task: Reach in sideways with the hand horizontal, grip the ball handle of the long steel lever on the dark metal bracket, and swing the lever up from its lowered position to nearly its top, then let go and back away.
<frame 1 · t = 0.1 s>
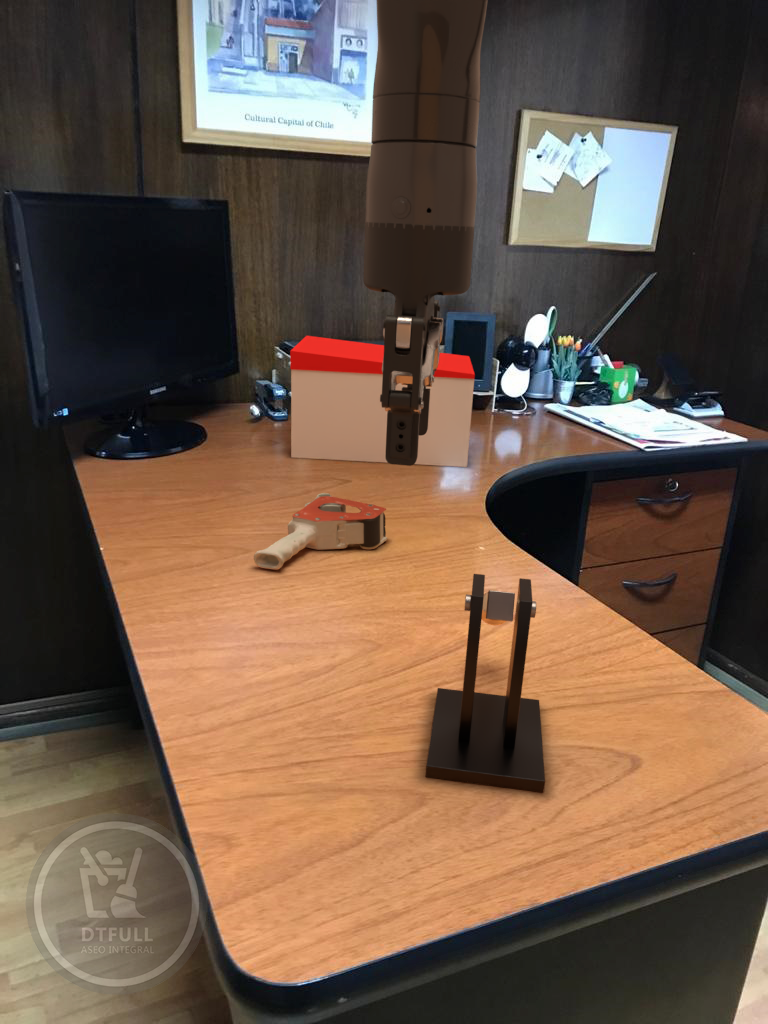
hand: (407, 447, 59), 28 cm above the table, tool pointing down, fingers open, 8 cm apart
bracket: (485, 741, 71), on the table
lever: (497, 607, 73), point 11 cm above the table, hinge at -28.0°
tape dispenser: (319, 546, 112), on the table
red-topped tan box: (380, 448, 161), on the table
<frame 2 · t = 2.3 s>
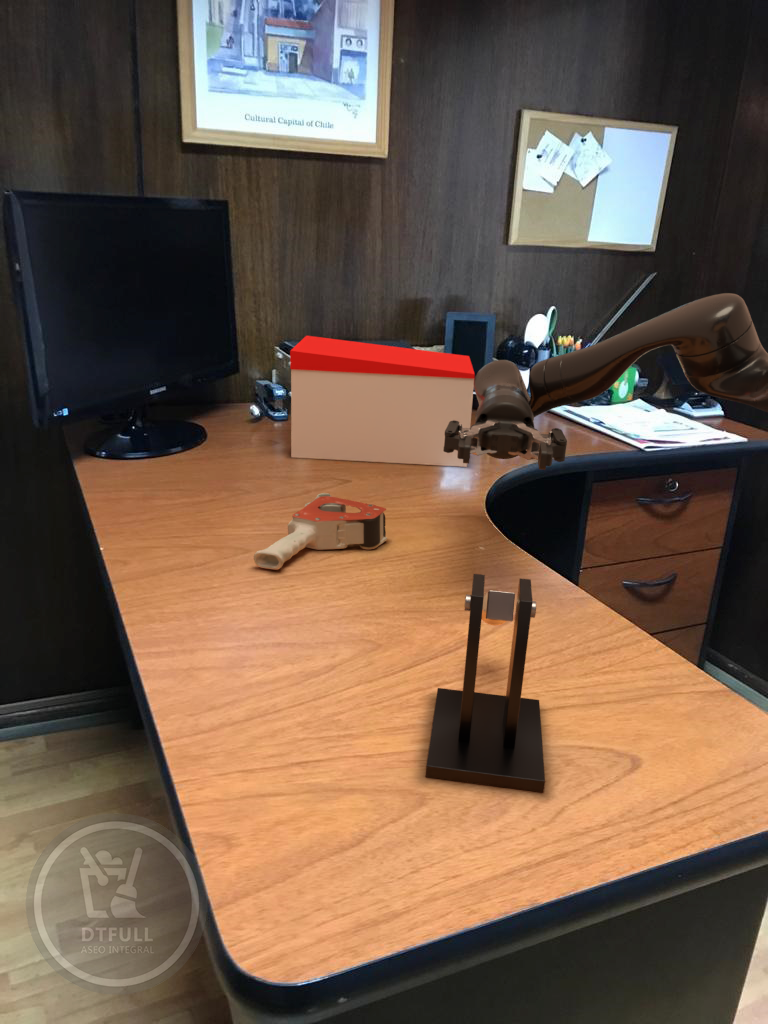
hand: (504, 458, 86), 20 cm above the table, tool horizontal, fingers open, 8 cm apart
nothing on the table moved.
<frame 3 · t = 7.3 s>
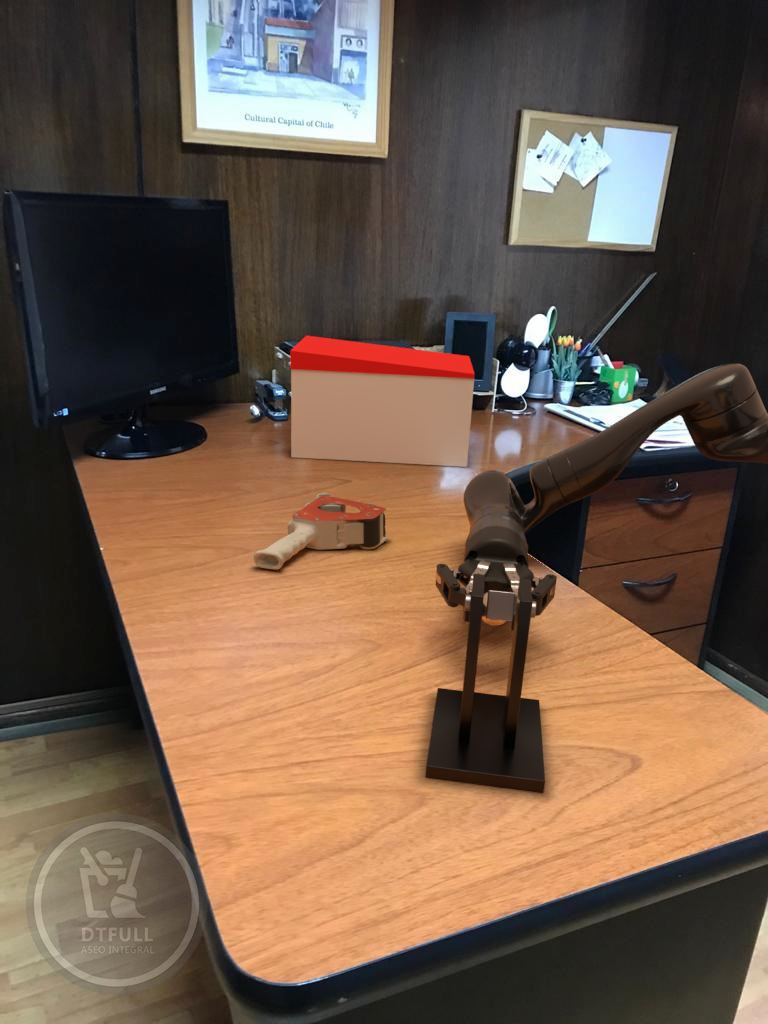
hand: (494, 620, 78), 7 cm above the table, tool horizontal, fingers closed on lever, 3 cm apart
lever: (497, 607, 73), point 11 cm above the table, hinge at -28.0°, touching gripper
everything else where it was.
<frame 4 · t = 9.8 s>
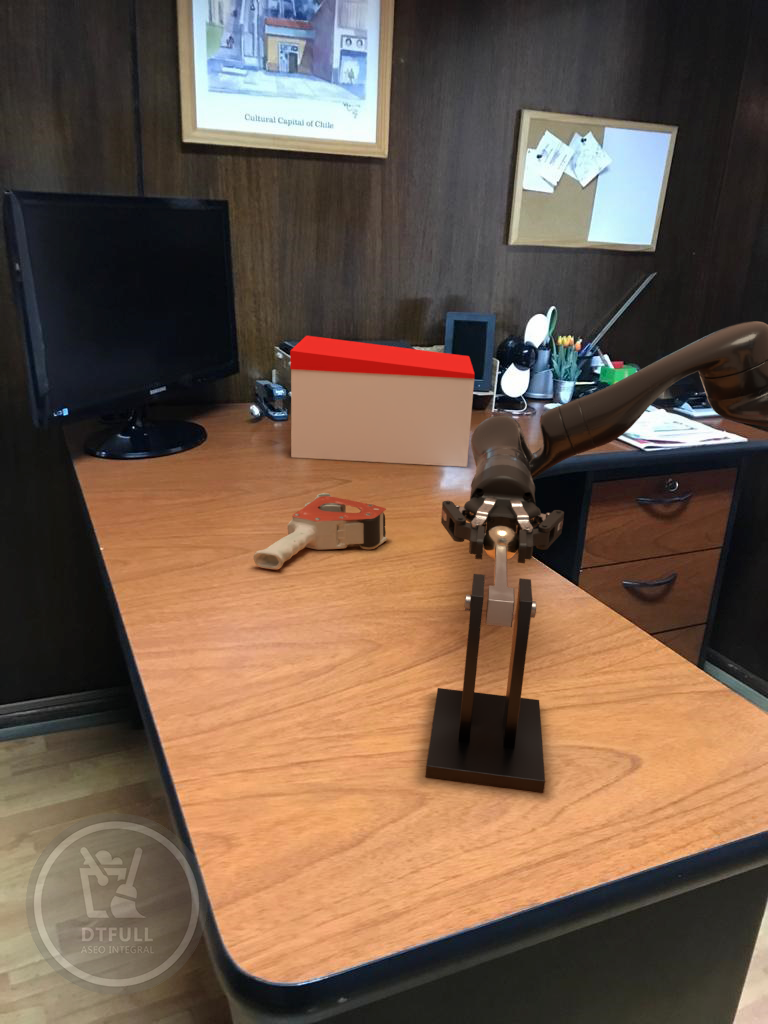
hand: (500, 552, 77), 14 cm above the table, tool horizontal, fingers closed on lever, 3 cm apart
lever: (500, 570, 73), point 14 cm above the table, hinge at 0.3°, touching gripper
everything else where it was.
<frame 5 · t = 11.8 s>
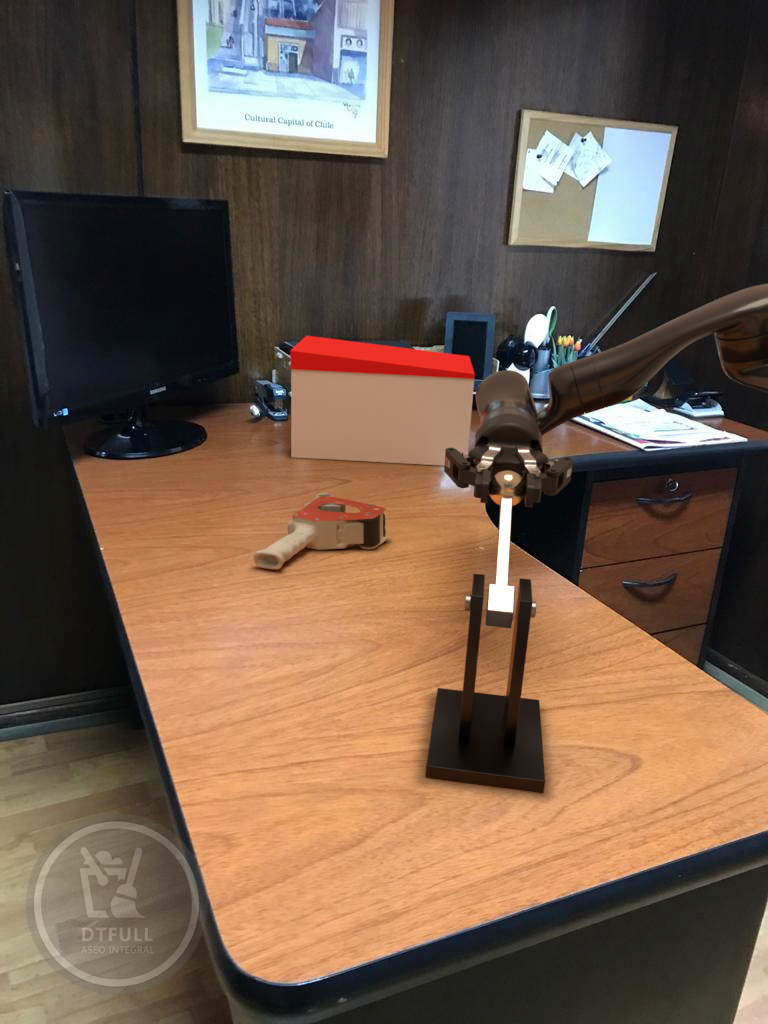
hand: (507, 495, 73), 21 cm above the table, tool horizontal, fingers closed on lever, 3 cm apart
lever: (503, 541, 71), point 17 cm above the table, hinge at 27.9°, touching gripper
everything else where it was.
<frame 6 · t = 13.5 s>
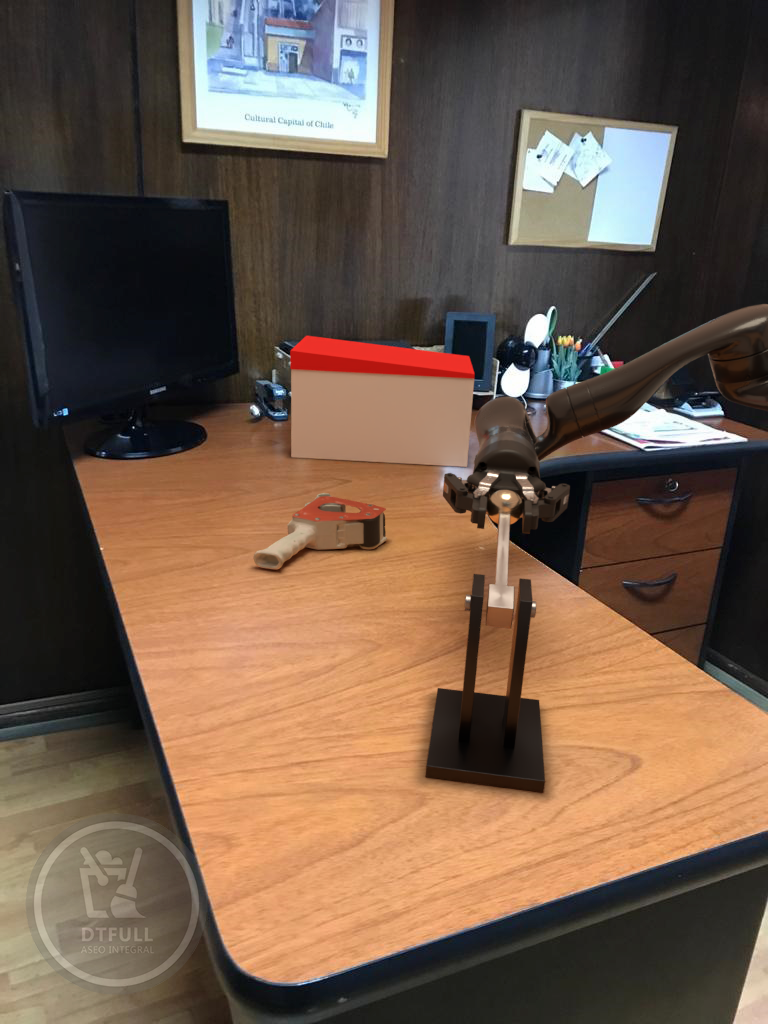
hand: (504, 521, 74), 18 cm above the table, tool horizontal, fingers open, 3 cm apart
lever: (502, 551, 72), point 16 cm above the table, hinge at 17.6°
everything else where it was.
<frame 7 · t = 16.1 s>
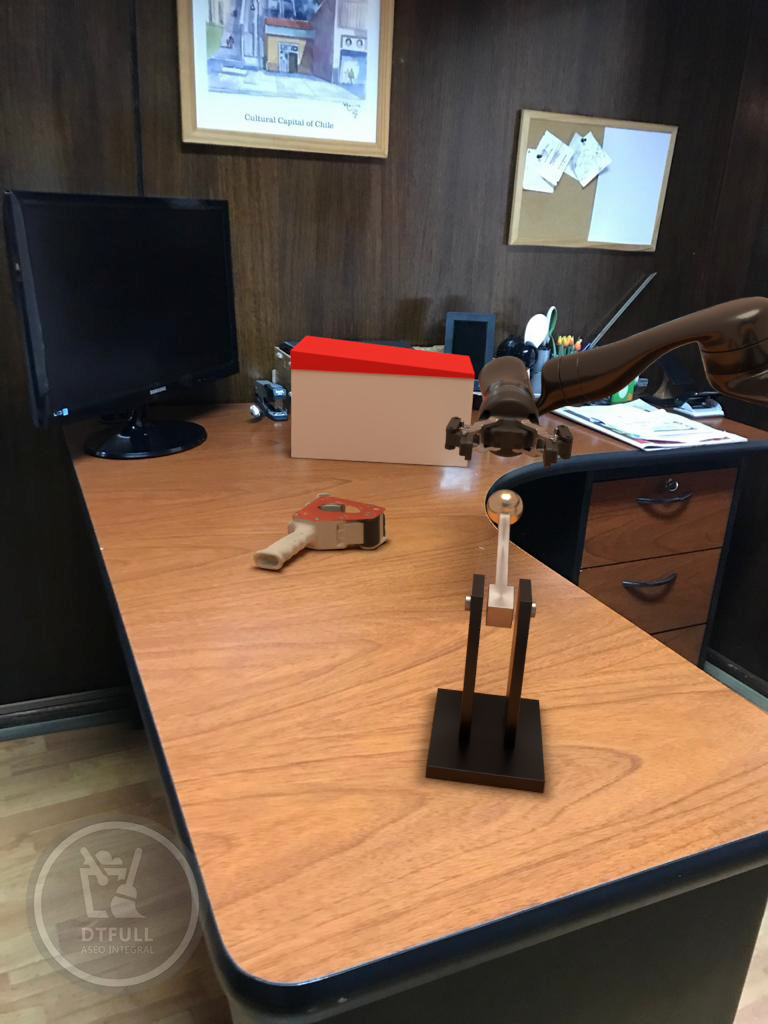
hand: (507, 455, 83), 22 cm above the table, tool horizontal, fingers open, 8 cm apart
nothing on the table moved.
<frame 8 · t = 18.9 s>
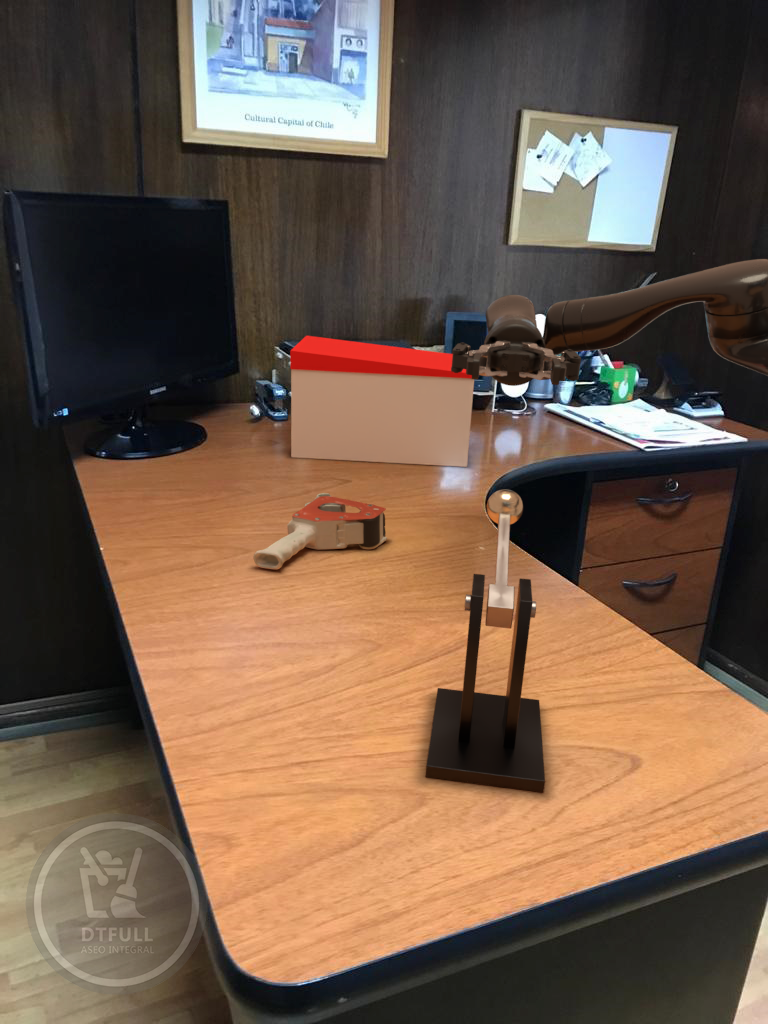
hand: (515, 372, 82), 30 cm above the table, tool horizontal, fingers open, 8 cm apart
nothing on the table moved.
at the end: lever at +18° (first picture: -28°); lever reached +28° during the clip, +18° at the end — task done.
